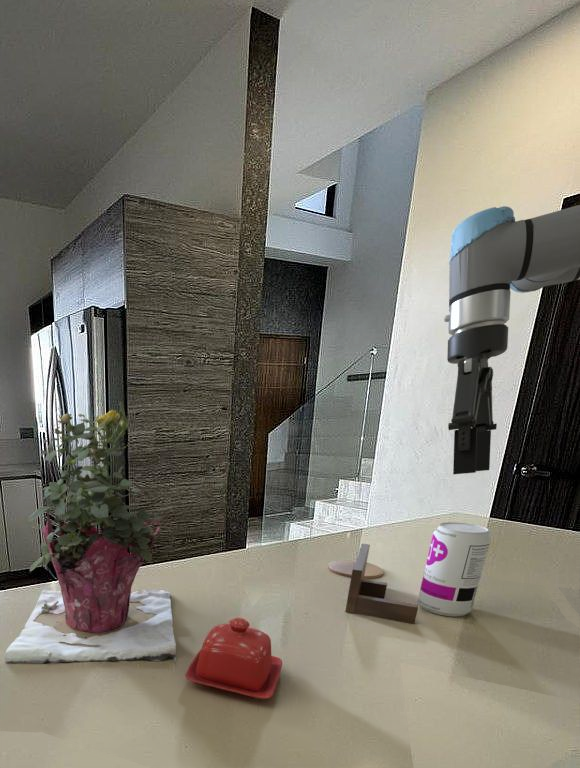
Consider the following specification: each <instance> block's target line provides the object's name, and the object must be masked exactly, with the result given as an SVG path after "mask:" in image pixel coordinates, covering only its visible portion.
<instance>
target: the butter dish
mask: <svg viewBox="0 0 580 768" xmlns="http://www.w3.org/2000/svg"><path fill="white" fill-rule="evenodd" d="M282 667H283V661H282V659H281V658H280V657H278V656H275V655H272V641H271V637H270V636H269V634H268V633H265V632H264V631H262V630H259V629H257V628H254V627H251V626H250V622H249V621H248V620H247V619H245V618H242V617H234V618H231V619H230V620H229V623H220V624H217V625H214V627H213V628H211V630H210V631H209V632H208V634H207V635H206V637H205V639H204V640H203V643H202V647H201V648H200V650H199V651H198V652H197V654H196V655H195V657H194V658H193V659H192V661H191V663H190V665H189V666H188V668H187V670H186V671H185V674H184V677H185V679H186V680H187V681H190V682H192V683H195V684H199V685H204V686H207V687H211V688H216V689H221V690H224V691H227V692H228V691H229V692H232V693H235V694H240V695H244V696H247V697H252V698H255V699H262V700H269V699H271V698H272V697H273V696H274V693H275V690H276V689H277V684H278V682H279V678H280V674H281V671H282Z"/></svg>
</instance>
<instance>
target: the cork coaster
mask: <svg viewBox="0 0 580 768" xmlns="http://www.w3.org/2000/svg"><path fill="white" fill-rule="evenodd" d="M355 561H356V559H355V560H354V559H338V560H333V561H331V562H329V563H328V566H327V569H328V570H329V571H330V572H332V573H334V574H336V575H339V576H342V577H346V578H351V576H352V570H353V567H354V564H355ZM383 574H384V570H383V568H381V567H380V566H378V565H376V564H374V563H370V562H367V564H366V569H365V575H364V579H366V580H372V579H377V578H380V577H381V576H382V577H383Z"/></svg>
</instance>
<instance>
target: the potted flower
mask: <svg viewBox="0 0 580 768" xmlns="http://www.w3.org/2000/svg"><path fill="white" fill-rule="evenodd" d="M118 405H119V411H118V412H117V410H115V409H111V410H109V411H108V412H106V413H104V414H102V415H101V416H99V415H98V414H97V415H96V417H95V418H94V420H93V422H91V421H90V420H89V419H88V418H86V416H85V415H84V414H81V413H78V417H79V418H81V419H80V421H81V423H77V424H75V425H73V424H72V422H71V420H73V416H72V413H65V414H63V415H62V416H61V410H60V408H59V407H57V409H58V411H59V415H58V418H59V420H58V421H57V423H59V425H61V426H57V427H56V428H54V427H55V426H56V424H54V425H52V428H54V429H53V430H54V434H55V435H58V437H59V438H58V437H53V438H50V440H51V441H50V442H49V444H48V446H47V448H48V451H49V452H48V451H47V452H46V450H44V449H43V450H40V452H41V453H40V456H41V458H43V457H44V455H45V454H47V455H46V456H45V458H44V459H45V461H46V462H47V461H49V462H50V463H52V462H53V460H54V459H55V458H56V456H57V453H60V454H59V455H58V457H59V458H61V457H62V456H63V454H64V453H65V452H66V453H67V455H66V457H65V462H64V464H63V466H59V467H58V468H59V470H58V472H60V473H61V479H58V481H57V482H56V481H50V482H48V485H49V486H45V487H44V488H42V491H43V493H44V494H43V495H44V497H43V498H42V500H45V499H46V498H48V497H49V501H50V503H52V505H53V506H48V505H46V506H42V507H41V506H40V507H38V508H37V509H36V510H35V511H34V512H33V513H32V514H31V515H29V516H28V524H30V523H31V522H33V521H35V520H36V519H37V518H39V517H40V516H42V515H43V514H44V513H45V512H46V513H47V515H46V516H47V520H46V521H47V522H46V525H45V526H44V528H43V529H42V534H43V537H44V541H45V543H44V542H41V543H40V551H41V554H42V556H40V557H39V558H38V559H37V560H35V561H34V562H33V563H32V564H31V565H30V568H29V572H30V573H31V572H32V571H34V570H35V569H36V568H37V567H38V565H39V564H41V563H43V564H44V565H48V564H49V562H50V561H51V563H52V566H53V568H54V570H55V573H56V577H57V581H58V585H59V586H60V587H59V588H60V590H51V589H50V590H49V589H42V590H41V593H40V595H39V597H38V599H37V601H36V604H35V606H34V609H33V610H32V611H31V614H30V616H29V618H28V619H27V621H26V622H25V625H24V626H23V628H24V629H22V630H21V631H20V634H19V635H18V636H17V637H15V638H14V641H13V642H11V643H10V644H9V646H8V647H7V649H6V650H5V652H4V662H5V663H7V664H20V663H21V664H39V665H40V664H41V665H42V664H45V663H49V662H52V663H53V664H54V665H55V664H57V663H73V662H75V663H76V662H77V663H78V662H79V663H81V662H88V661H89V662H102V661H106V662H116V661H117V662H118V661H121V660H122V661H129V662H130V661H131V662H132V661H136V660H146V661H149V662H163V661H165V660H167V659H173V660H174V663H175V664H177V657H176V654H177V653H176V652H177V651H176V650H177V647H176V646H177V643H176V639H175V635H174V624H173V623H174V622H173V621H174V619H173V614H172V603H171V602H172V601H171V592H170V589H169V590H168V589H162V590H160V589H153V588H149V589H144V590H137V591H134V592H132V587H133V584H134V581H135V578H136V575H137V573H138V572H139V570H140V568H141V567H142V565H143V563H144V561H146V562H149V563H151V562H152V558H153V554H152V552H151V551H150V550H151V548H152V546H153V544H154V543H155V538H156V535H157V534H158V532H159V531H160V530H161V525H163V522H161V521H164V519H165V517H166V515H164V516H161V515H163V512H162V513H161V514H160V513H159V511H157V512H156V513H150V514H148V513H147V511H146V510H145V509H143V508H140V509H138V511H137V513H136V512H128V511H129V510H133V511H135V508H134V507H133V506H131V505H128V504H127V505H126V503H125V502H124V501H122V498H125V497H129V496H130V495H131V494H145V495H147V496H150V497H152V498H154V495H151V494H150V493H149V491H141V489H140V488H135V487H133V482H132V481H130V480H128V479H126V478H125V477H123V474H122V469H123V468H124V465H121V464H122V462H121V461H117V460H115V461H109V460H110V456H116V457H117V456H121V455H123V451H121V449H122V450H123V449H126V448H127V447H128V446H129V445H131V442H129V443H128V444H127V445H126V443H124V442H122V444H123V445H126V446H123V447H121V446H120V444H119V443H120V441H119V438H121V437H124V436H125V435H126V430H127V429H128V428H129V427H130V421H129V419H128V417H127V416H126V412H125V406H124V403H123V402H122V401H120V402H119V403H118ZM121 415H122V416H121ZM82 417H83V419H82ZM119 419H120V420H119ZM118 420H119V422H117V421H118ZM85 423H87V424H88V423H89V424H90V425H92V426H88V427H86V425H85ZM94 423H96V424H97V427H96V425H94ZM60 428H61V430H60ZM111 429H112V430H111ZM65 431H66V432H67V433H65V434H64V432H65ZM94 431H95V432H97V433H95V432H94ZM101 431H102V432H105V434H102V433H101ZM70 433H71V434H72V435H69V434H70ZM116 433H117V435H118V436H117V437H116V435H115V434H116ZM95 434H96V435H99V438H98V439H97V436H96V437H95ZM131 435H134V432H132V433H131ZM115 437H116V438H115ZM113 438H115V440H113ZM60 439H61V440H60ZM79 439H80V442H81V444H80V442H79ZM148 439H150V441H156V439H155V438H154V437H151V436H149V437H148ZM59 440H60V443H61V444H57V445H55V447H56V448H58V449H57V450H53V448H54V445H53V442H55V441H57V442H58V441H59ZM83 440H86V441H89V443H88V444H85V445H83V443H84V442H83ZM104 440H105V441H104ZM73 441H76V443H77V444H80V445H79V446H77V447H75V448H74V449H73V450H72V448H73V447H74V445H73V444H71V446H70V449H69V446H68V445H66V444H67V443H68V442H69V443H73ZM42 442H43V443H44V444H46V443H48V440H47V439H43V440H42ZM100 443H101V444H100ZM108 444H111V445H112V444H113V445H112V446H111V447H108ZM63 445H64V448H63ZM116 445H117V446H116ZM101 447H102V448H101ZM52 450H53V451H52ZM69 451H70V452H71V453H70V452H69ZM69 457H70V458H69ZM88 458H89V459H90V460H91V461H92V462H94V463H93V465H84V466H83V465H80V466H77V465H76V464H77V461H78V462H83V461H84V460H85V459H88ZM100 463H101V464H102V466H101V465H99V464H100ZM112 464H114V465H121V466H120V468H119V469H118V472H117V471H114V472H113V473H112V475H110V474H109V469H110V467H109V466H111V465H112ZM64 466H65V469H64V470H63V469H62V468H64ZM69 466H70V469H71V470H70V469H68V468H69ZM96 466H97V467H96ZM83 471H86V472H87V471H88V472H90V473H92V474H93V476H94V477H91V475H89V473H87V474H85V475H84V476H82V475H81V474H82V473H83ZM67 476H68V477H67ZM141 477H143V476H142V475H139V474H138V475H134V476H132V478H133V479H135V478H141ZM70 478H71V479H72V480H71V479H70ZM112 478H118V479H122V480H121V482H119V483H117V484H116V485H112V482H114V481H115V480H113V479H112ZM75 479H76V480H75ZM64 481H67V483H64ZM135 484H136V485H137V484H139V485H140V484H141V482H135ZM131 487H133V488H131ZM129 488H131V489H129ZM68 489H69V490H70V492H69V493H68V494H65V493H66V492H67V491H68ZM115 490H118V491H121V490H127V491H128V492H129V493H128V494H124V495H123V494H121V493H120V492H116V494H113V493H115ZM89 492H91V493H89ZM65 500H67V504H66V502H65ZM68 507H70V508H71V509H70V510H67V511H66V509H67V508H68ZM51 509H53V510H54V519H53V520H51V517H50V513H49V512H50V510H51ZM109 513H110V515H109ZM152 516H153V517H154V518H151V517H152ZM59 517H60V518H59ZM62 520H64V522H63V521H62ZM65 520H66V521H69V522H68V523H67V522H65ZM56 523H57V525H58V526H57V527H56V528H55V530H54V529H53V525H55V524H56ZM150 523H151V524H150ZM43 524H44V522H42V523H39V524H37V525H35V526H31V528H30V530H31V531H32V530H37V531H40V530H41V527H40V526H41V525H43ZM52 524H53V525H52ZM154 524H156V525H159V526H157V527H156V529H154V528H152V527H153V526H154ZM97 525H99V528H100V532H99V531H98V530H97V528H96V526H97ZM151 526H152V527H151ZM77 530H78V531H77ZM154 531H155V532H154ZM152 532H154V533H152ZM55 535H56V536H57V537H56V538H54V536H55ZM130 547H133V548H130ZM129 549H130V552H129V551H128V550H129ZM130 603H140V604H142V605H138V606H136V607H135V610H140V611H142V612H143V613H144V614H153V615H154V616H152V617H150V618H149V619H147V620H145V621H142V622H140V623H137V624H134V625H131V626H128V627H123V628H121V629H119V630H115V629H117V627H122V626H123V625H124V624H125V621H127V619H128V616H129V611H130ZM64 612H65V615H64V616H65V624H66V625H68V626H69V627H70V628H72V629H74V630H77V631H78V632H79V631H81V632H87V633H94V634H98V633H103V632H107V631H109V630H110V631H111V630H112V632H109V633H107V634H102V635H92V636H90V637H87V636H85V637H84V638H81V637H78V636H77V634H76V633H74V632H69V633H64V632H61V631H59V630H57V629H56V628H55V627H53V626H51V625H47V624H46V625H44V623H42V622H41V623H40V622H37V621H35V620H36V619H37V617H39V616H40V614H46V613H47V614H52V613H53V614H54V615H60V614H62V613H64ZM55 623H58V621H56V622H55ZM113 630H115V631H113ZM68 644H69V645H68ZM76 644H77V645H76ZM78 644H81V645H85V646H80V645H79V646H78Z"/></svg>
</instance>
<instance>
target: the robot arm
mask: <svg viewBox="0 0 580 768" xmlns="http://www.w3.org/2000/svg"><path fill="white" fill-rule="evenodd" d="M514 215H515V213H514V209H512V207H510V206H507V205H506V206H505V205H503V206H499V207H495V206H493V207H490V208H486V209H483V210H480V211H477V212H475V213H473V214H471V215H469V216H467V217H466V218H465V219H463V220H462V221H461V222H460V223H459V224H457V226H456V227H455V228H454V230H453V232H452V234H451V240H450V241H451V243H450V256H449V261H448V265H449V273H448V274H449V279H448V280H449V281H448V283H449V285H448V294H449V295H448V307H449V308H448V311H449V314H446V315H445V316H444V318H443V320H444V322H445V323H448V334H449V335H450V337H449V339H447V357H446V358H447V362H448V363H449V364H453V365H457V376H456V377H457V378H456V386H455V393H454V402H453V408H452V415H451V416H452V417H451V420H450V421H451V422H449V423H448V426H447V429H448V431H454V432H453V433H454V434H453V464H452V465H453V467H452V469H453V470H452V472H453V473H452V475H463V474H464V475H465V474H473V473H476V472H484V471H490V464H491V443H492V431H494V430H497V426H498V424H497V423H495V422H494V419H493V418H494V417H493V415H494V414H493V378H494V368H493V367H492V366H489V360H490V358H493V357H498V356H500V355H503V354H504V353H506V351H507V350H508V347H509V345H508V343H509V326H508V325H507V324H506V323H507V322H508V321H509V320H510V313H511V293H512V292H511V291H513V292H516V293H520V294H524V293H526V294H527V293H531V292H536V291H539V290H540V289H543V288H545V287H549V286H554V285H560V284H565V283H566V284H567V283H570V282H575V281H579V280H580V204H578V205H574V206H571V207H567V208H563V209H559V210H556V211H553V212H549V213H546V214H542V215H539V216H534V217H531V218H527V219H520V220H516V217H515V216H514Z"/></svg>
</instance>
